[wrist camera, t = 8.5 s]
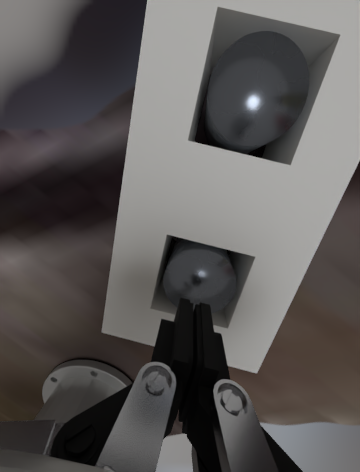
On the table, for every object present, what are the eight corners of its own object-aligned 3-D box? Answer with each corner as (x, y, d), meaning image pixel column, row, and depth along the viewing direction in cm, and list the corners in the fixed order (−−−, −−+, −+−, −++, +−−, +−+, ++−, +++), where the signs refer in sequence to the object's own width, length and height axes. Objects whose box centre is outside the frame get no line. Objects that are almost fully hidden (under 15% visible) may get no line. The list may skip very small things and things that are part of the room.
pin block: (240, 318, 20) (256, 373, 15) (128, 289, 20) (101, 332, 15) (348, 48, 13) (459, -48, 8) (177, 9, 14) (163, -113, 8)
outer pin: (255, 163, 16) (285, 155, 10) (197, 148, 16) (196, 134, 10) (278, 94, 14) (327, 44, 9) (214, 79, 14) (223, 20, 9)
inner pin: (216, 281, 19) (223, 322, 14) (168, 269, 19) (156, 304, 14) (231, 235, 17) (246, 260, 12) (180, 222, 18) (171, 241, 12)
